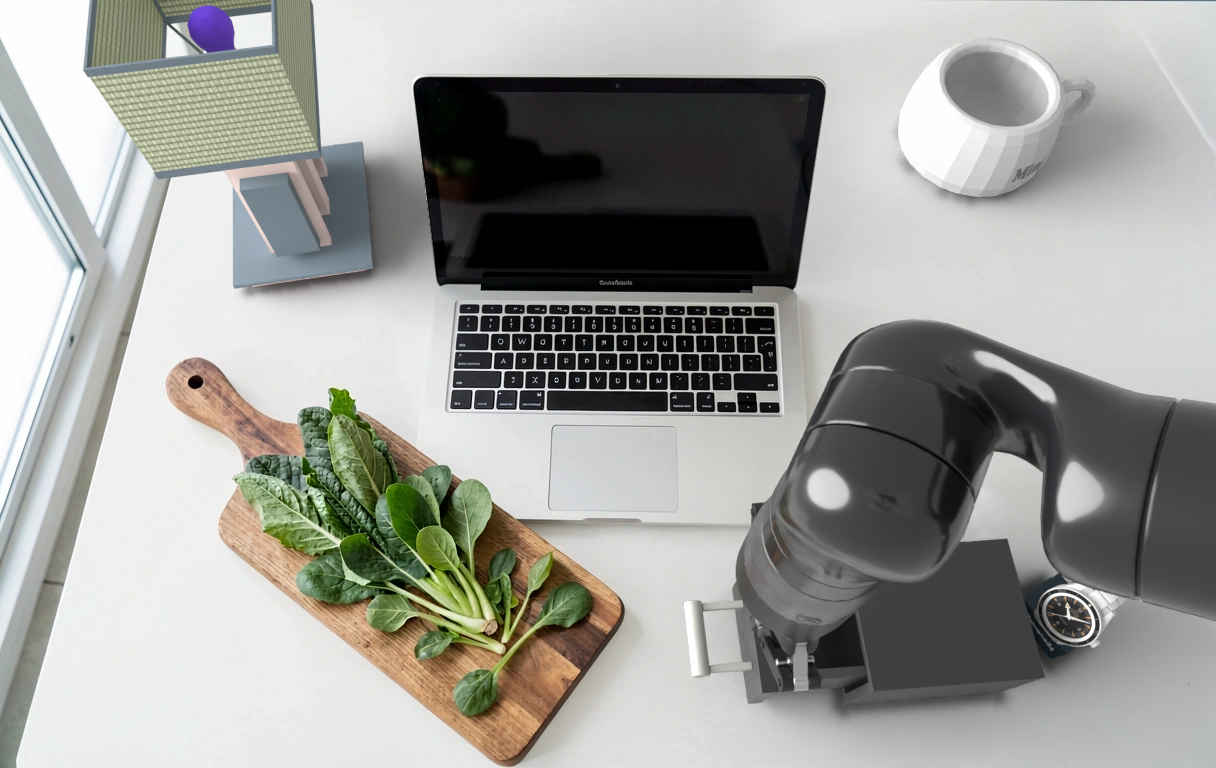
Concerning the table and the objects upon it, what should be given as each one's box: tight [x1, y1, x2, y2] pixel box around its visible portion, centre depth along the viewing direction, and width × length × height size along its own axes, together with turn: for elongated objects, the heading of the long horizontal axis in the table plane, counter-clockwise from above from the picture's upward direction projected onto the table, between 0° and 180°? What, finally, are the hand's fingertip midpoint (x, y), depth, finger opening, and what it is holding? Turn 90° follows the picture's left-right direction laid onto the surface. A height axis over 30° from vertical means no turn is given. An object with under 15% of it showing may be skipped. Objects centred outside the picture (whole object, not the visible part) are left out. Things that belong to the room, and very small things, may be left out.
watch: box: [1023, 573, 1129, 661], centre depth 76 cm, size 6×8×11 cm
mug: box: [897, 37, 1096, 198], centre depth 100 cm, size 21×17×10 cm
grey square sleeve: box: [840, 538, 1046, 706], centre depth 76 cm, size 14×11×9 cm
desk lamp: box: [82, 0, 374, 290], centre depth 84 cm, size 18×14×33 cm
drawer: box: [683, 581, 868, 705], centre depth 76 cm, size 18×10×7 cm, turn 94°
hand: (763, 619), depth 67 cm, fingers closed
